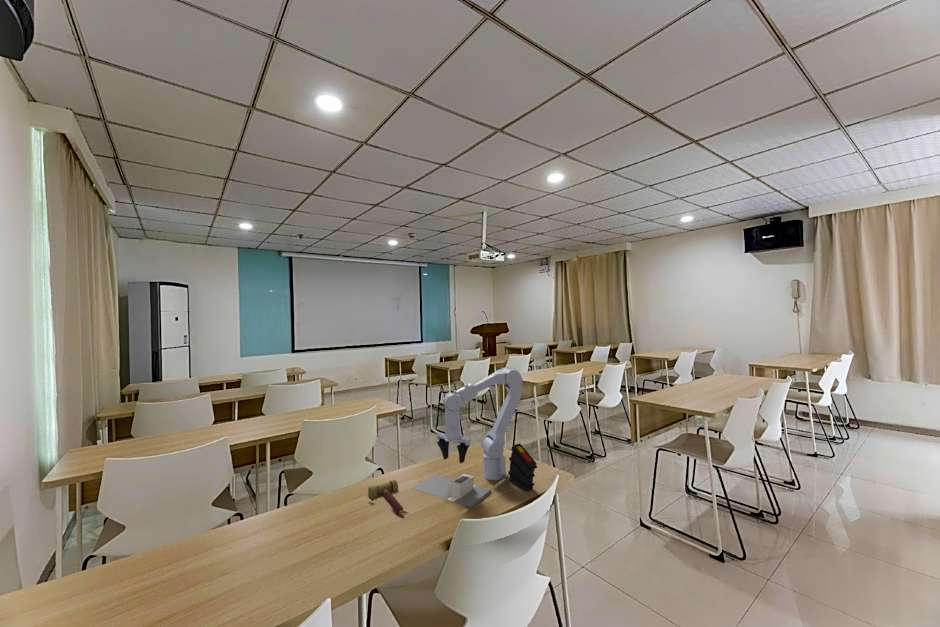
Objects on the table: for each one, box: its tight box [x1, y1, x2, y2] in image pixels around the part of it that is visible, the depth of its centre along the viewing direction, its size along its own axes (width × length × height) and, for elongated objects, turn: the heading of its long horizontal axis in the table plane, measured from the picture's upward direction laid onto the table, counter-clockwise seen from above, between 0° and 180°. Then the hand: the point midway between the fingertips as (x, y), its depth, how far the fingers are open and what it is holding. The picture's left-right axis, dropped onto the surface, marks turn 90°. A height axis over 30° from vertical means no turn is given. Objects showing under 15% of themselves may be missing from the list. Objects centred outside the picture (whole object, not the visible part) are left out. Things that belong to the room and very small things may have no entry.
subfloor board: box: [411, 474, 492, 510], centre depth 142 cm, size 14×26×1 cm, turn 56°
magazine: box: [507, 442, 538, 492], centre depth 145 cm, size 4×13×15 cm, turn 30°
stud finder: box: [450, 473, 475, 499], centre depth 139 cm, size 9×4×5 cm, turn 146°
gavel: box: [367, 479, 405, 517], centre depth 134 cm, size 21×5×10 cm
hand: (453, 460), depth 147 cm, fingers open, 7 cm apart
